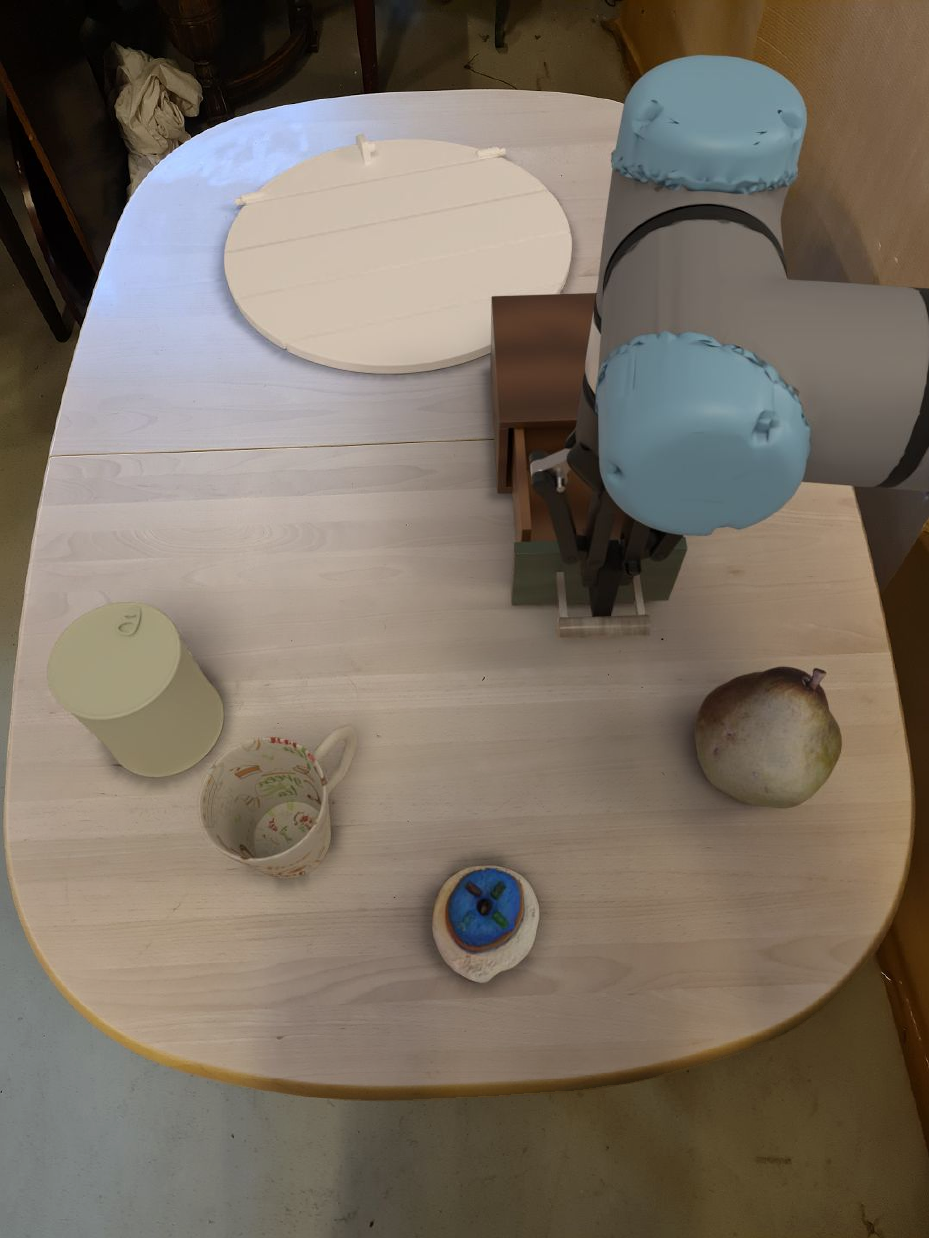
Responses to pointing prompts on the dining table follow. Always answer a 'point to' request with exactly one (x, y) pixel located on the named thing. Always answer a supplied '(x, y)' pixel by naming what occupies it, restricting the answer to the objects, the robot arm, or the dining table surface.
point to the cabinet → (536, 366)
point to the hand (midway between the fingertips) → (599, 601)
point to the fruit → (768, 737)
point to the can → (136, 688)
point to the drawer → (540, 559)
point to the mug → (273, 803)
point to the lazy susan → (393, 253)
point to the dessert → (485, 921)
